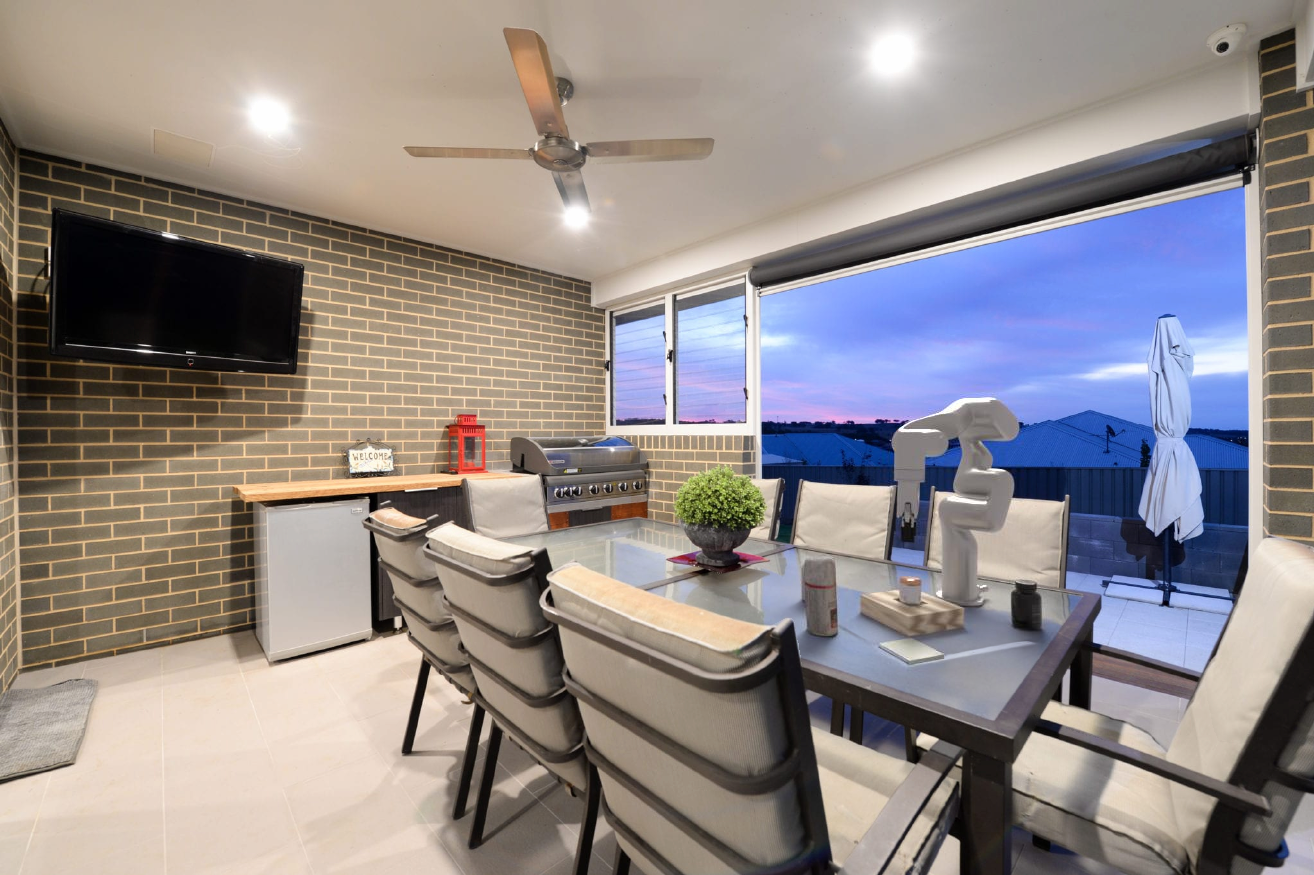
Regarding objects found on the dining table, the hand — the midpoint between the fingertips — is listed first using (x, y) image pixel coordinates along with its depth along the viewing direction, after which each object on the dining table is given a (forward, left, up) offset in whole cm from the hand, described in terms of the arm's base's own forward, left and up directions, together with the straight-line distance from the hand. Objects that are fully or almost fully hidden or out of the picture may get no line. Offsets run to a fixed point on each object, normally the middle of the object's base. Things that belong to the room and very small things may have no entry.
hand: (908, 538), depth 144 cm
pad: (+14, +15, -23) cm, 31 cm away
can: (+14, -24, -23) cm, 36 cm away
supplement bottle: (-27, +12, -23) cm, 38 cm away
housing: (0, 0, -23) cm, 23 cm away
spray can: (+26, -3, -23) cm, 35 cm away
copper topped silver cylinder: (0, 0, -22) cm, 22 cm away
